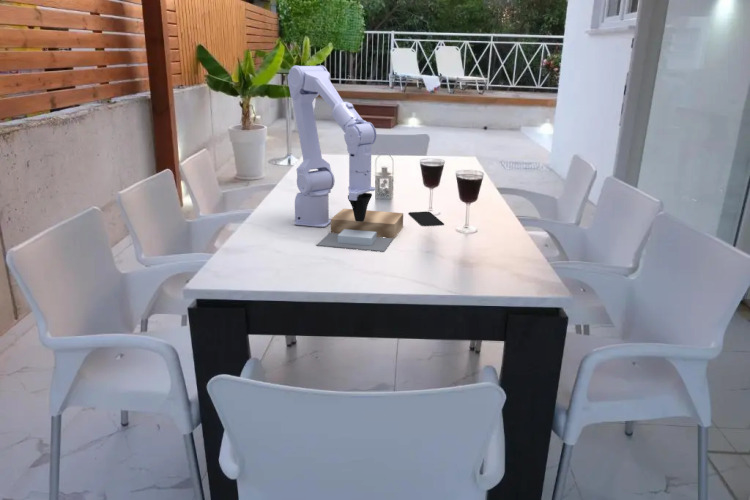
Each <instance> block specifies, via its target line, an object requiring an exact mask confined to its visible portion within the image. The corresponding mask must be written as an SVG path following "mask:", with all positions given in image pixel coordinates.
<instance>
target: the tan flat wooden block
mask: <svg viewBox="0 0 750 500" xmlns="http://www.w3.org/2000/svg"><path fill="white" fill-rule="evenodd" d="M330 219H331V223H330V233H337V234H340V233H341V232H342V231H343V230H344V229H349V230H361V231H373V232H377V237H382V238H383V237H386V238H393V239H395V238H396V237H397V235H398V234H399V233H400V231H401V230H402V228H404V213H403V212H394V211H381V210H379V211H378V210H366V215H365V219H364V221H363V222H360V221H355V217H354V212H353V208H342V209H341V210H339V212H338V213H336V214H335V215H333V216H332V217H331V218H330Z"/></svg>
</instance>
